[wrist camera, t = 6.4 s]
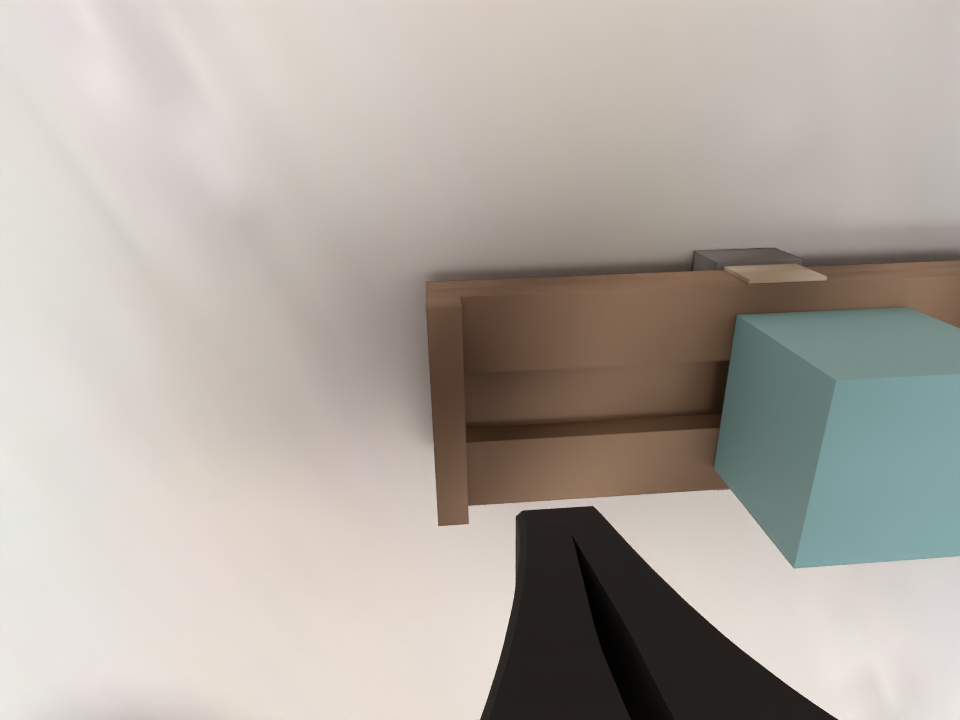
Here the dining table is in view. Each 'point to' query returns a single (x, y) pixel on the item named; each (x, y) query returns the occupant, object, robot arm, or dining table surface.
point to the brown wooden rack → (618, 369)
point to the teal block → (845, 433)
